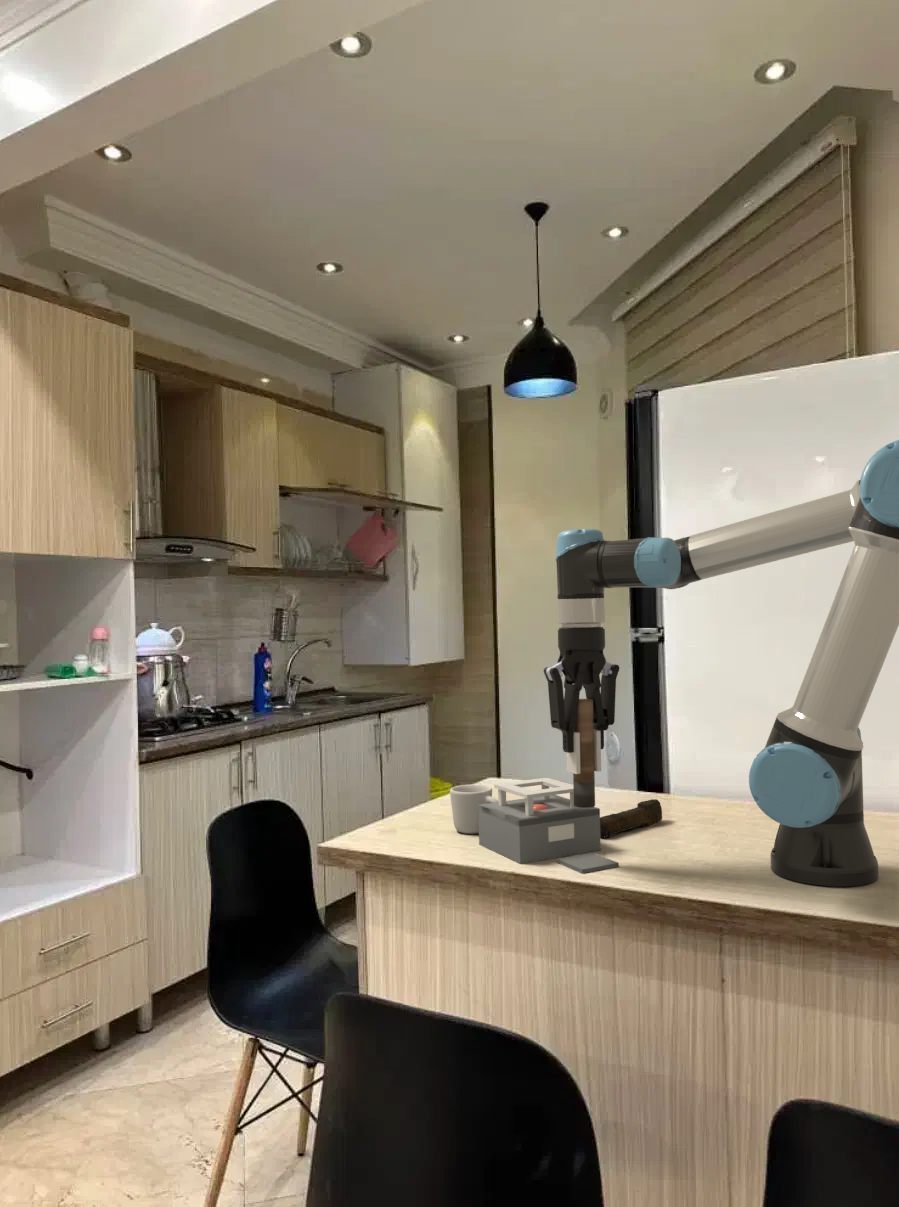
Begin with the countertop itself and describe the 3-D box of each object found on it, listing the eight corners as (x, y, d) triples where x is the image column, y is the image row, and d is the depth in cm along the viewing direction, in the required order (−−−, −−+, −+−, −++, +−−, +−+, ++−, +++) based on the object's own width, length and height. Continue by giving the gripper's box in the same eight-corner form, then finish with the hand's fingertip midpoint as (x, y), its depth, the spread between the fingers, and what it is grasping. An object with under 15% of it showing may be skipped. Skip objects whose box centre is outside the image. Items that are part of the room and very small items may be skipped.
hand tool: (605, 841, 155) (604, 815, 156) (588, 837, 159) (588, 811, 159) (673, 824, 167) (672, 800, 167) (656, 820, 170) (656, 796, 170)
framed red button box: (601, 850, 149) (599, 787, 149) (520, 864, 142) (519, 798, 142) (555, 832, 162) (553, 775, 162) (479, 844, 155) (477, 784, 155)
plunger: (550, 847, 151) (549, 806, 151) (536, 849, 150) (535, 808, 150) (541, 843, 154) (540, 803, 154) (527, 845, 153) (525, 805, 153)
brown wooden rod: (599, 806, 140) (597, 699, 141) (581, 808, 139) (579, 701, 139) (586, 802, 143) (584, 698, 144) (569, 804, 142) (567, 699, 142)
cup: (513, 832, 163) (512, 789, 163) (485, 841, 157) (484, 796, 157) (470, 823, 170) (469, 782, 170) (442, 832, 164) (441, 789, 164)
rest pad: (618, 866, 139) (618, 862, 139) (582, 873, 136) (582, 869, 136) (592, 856, 145) (592, 852, 146) (557, 862, 142) (557, 858, 142)
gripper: (608, 624, 148) (611, 763, 148) (525, 626, 141) (528, 772, 141) (636, 624, 142) (639, 769, 141) (551, 627, 134) (554, 780, 134)
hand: (584, 771), depth 141 cm, fingers closed on brown wooden rod, 3 cm apart
